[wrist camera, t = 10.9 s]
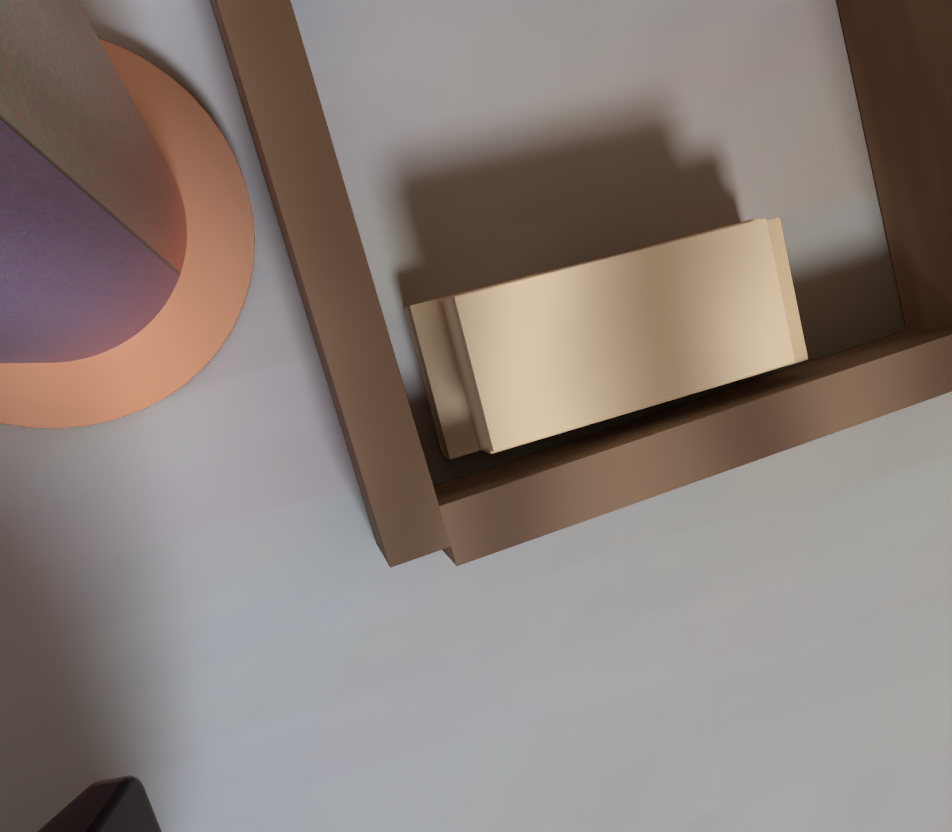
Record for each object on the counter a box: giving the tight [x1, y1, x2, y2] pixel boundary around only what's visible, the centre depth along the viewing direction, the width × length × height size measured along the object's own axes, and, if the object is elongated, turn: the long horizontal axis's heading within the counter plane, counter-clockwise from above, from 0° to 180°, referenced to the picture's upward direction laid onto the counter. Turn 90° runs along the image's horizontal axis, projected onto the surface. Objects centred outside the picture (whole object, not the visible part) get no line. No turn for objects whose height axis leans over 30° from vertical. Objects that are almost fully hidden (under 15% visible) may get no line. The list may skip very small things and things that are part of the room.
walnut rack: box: [210, 0, 952, 567], centre depth 18 cm, size 18×16×9 cm
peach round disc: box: [0, 38, 255, 428], centre depth 19 cm, size 9×9×1 cm
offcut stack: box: [404, 217, 808, 459], centre depth 21 cm, size 10×4×4 cm, turn 105°
